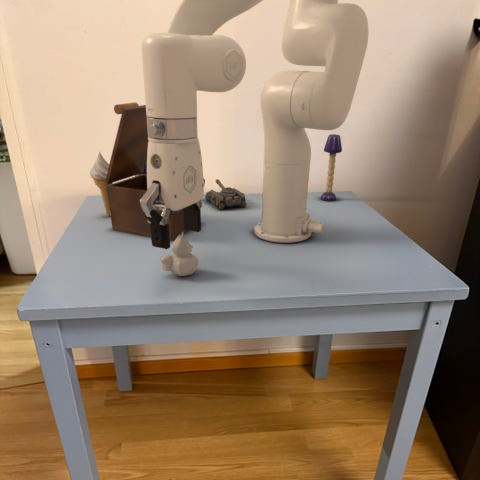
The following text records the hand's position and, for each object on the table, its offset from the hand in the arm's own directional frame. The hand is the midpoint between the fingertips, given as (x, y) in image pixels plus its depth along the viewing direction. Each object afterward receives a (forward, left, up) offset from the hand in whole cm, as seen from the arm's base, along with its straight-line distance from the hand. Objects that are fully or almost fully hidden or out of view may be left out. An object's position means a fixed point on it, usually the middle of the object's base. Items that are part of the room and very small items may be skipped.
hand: (177, 238), depth 77 cm
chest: (+19, -20, -7) cm, 29 cm away
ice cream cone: (+34, -21, -7) cm, 41 cm away
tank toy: (+14, -44, -7) cm, 47 cm away
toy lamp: (-9, -61, -7) cm, 63 cm away
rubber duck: (0, -1, -7) cm, 7 cm away
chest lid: (+23, -20, +10) cm, 32 cm away
